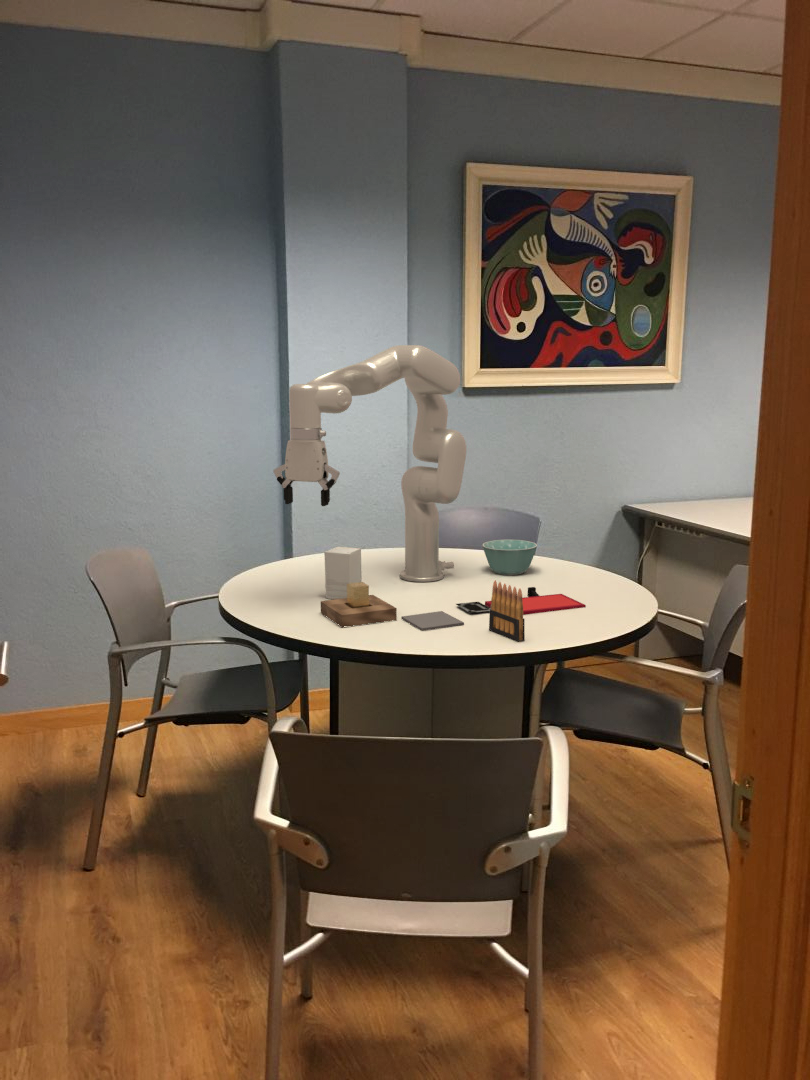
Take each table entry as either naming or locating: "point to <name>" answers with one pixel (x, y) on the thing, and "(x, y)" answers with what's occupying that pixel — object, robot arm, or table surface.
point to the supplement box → (341, 570)
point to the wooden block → (357, 595)
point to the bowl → (509, 555)
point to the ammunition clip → (507, 612)
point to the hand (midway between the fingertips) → (306, 504)
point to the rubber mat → (432, 620)
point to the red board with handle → (531, 603)
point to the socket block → (358, 612)
